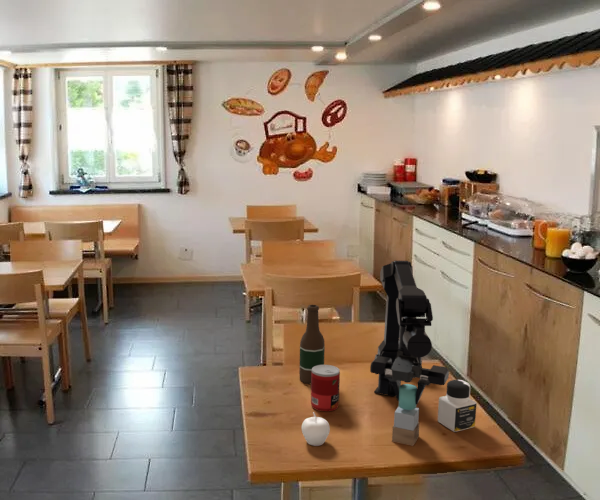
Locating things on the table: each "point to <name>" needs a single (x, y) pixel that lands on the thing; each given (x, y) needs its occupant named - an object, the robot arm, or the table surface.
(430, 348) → the robot arm
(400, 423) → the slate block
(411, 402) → the teal cylinder
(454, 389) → the medicine bottle
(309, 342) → the beer bottle
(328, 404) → the canned food
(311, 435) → the plain white apple
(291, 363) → the table surface
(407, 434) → the walnut block
